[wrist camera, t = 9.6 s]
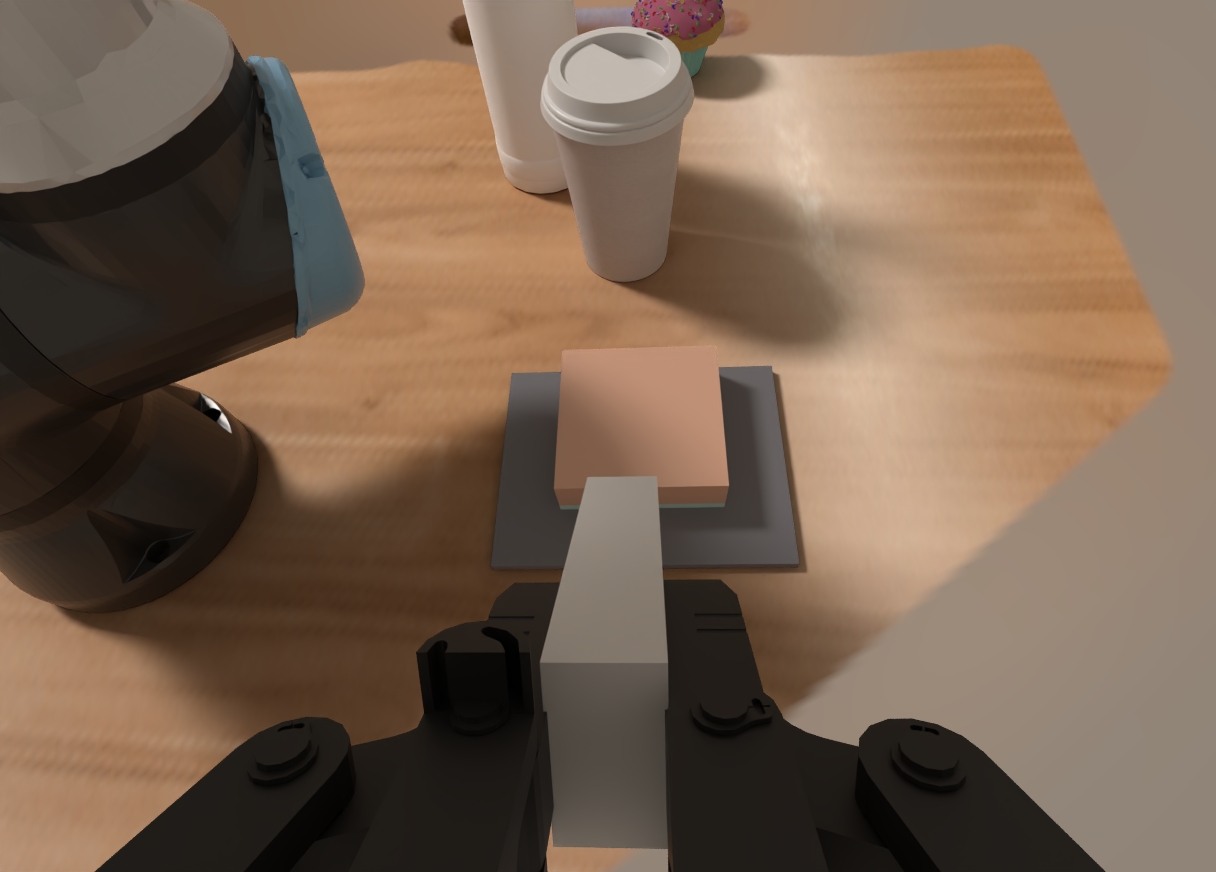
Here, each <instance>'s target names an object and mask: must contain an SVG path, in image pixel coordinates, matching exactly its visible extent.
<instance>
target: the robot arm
mask: <svg viewBox="0 0 1216 872" xmlns="http://www.w3.org/2000/svg"><path fill="white" fill-rule="evenodd" d="M364 285H365V279H364V273H363V270H362V266H361V263H360V259H359V256H358V253H357V251H356V248H355V245H354V242H353V239H352V236H351V233H350V230H349V228H348V225H347V222H346V220H345V217H344V214H343V211H342V209H341V206H340V203H339V200H338V198H337V195H336V192H335V190H334V187H333V185H332V182H331V179H330V177H329V174H328V172H327V170H326V168H325V165H324V161H323V158H322V156H321V153H320V150H319V148H318V145H317V143H316V139H315V136H314V133H313V131H312V128H311V125H310V123H309V120H308V117H307V115H306V112H305V110H304V107H303V104H302V102H301V99H300V97H299V94H298V92H297V89H296V87H295V84H294V82H293V80H292V77H291V75H290V73H289V70H288V69H287V67H286V65H285V64H284V63H283V62H282V61H280V60H279V59H276V58H270V57H269V58H262V57H260V56H255V57H254V55H253V56H250V57H248V59H247V61H246V62H244V60H243V59H242V57H241V55H240V53H239V52H238V50H237V48H236V46H235V45H234V43H233V41H232V39H231V38H230V36H229V34H228V32H227V31H226V29H225V27H224V26H223V25H222V23H221V22H220V21H219V20H218V19H217V18H216V17H215V16H214V15H213V14H212V13H211V12H210V11H207V10H206V9H204V8H202V7H200V6H198V5H196V4H193V3H191V2H189V1H187V0H0V571H1V572H2V573H3V574H4V575H5V576H6V577H7V578H8V579H9V580H10V581H11V582H12V583H13V584H14V585H16V586H17V587H18V588H20V589H21V590H23V591H24V592H26V593H28V594H30V595H31V596H33V597H36V598H38V599H40V600H43V601H46V602H49V603H52V604H55V605H58V606H61V607H64V608H67V609H70V610H75V611H80V612H88V613H103V612H113V611H119V610H124V609H128V608H132V607H135V606H138V605H141V604H144V603H146V602H149V601H151V600H154V599H156V598H158V597H160V596H162V595H164V594H166V593H168V592H170V591H172V590H173V589H175V588H177V587H178V586H180V585H181V584H183V583H184V582H186V581H187V580H189V579H190V578H191V577H193V576H194V575H195V574H197V573H198V572H199V571H200V570H201V569H202V568H204V567H205V566H206V565H207V564H208V563H209V562H210V561H211V560H212V559H213V558H214V557H215V556H216V555H217V554H218V553H219V552H220V551H221V550H222V548H223V547H224V546H225V545H226V544H227V542H228V541H229V540H230V538H231V537H232V536H233V534H234V533H235V531H236V530H237V528H238V527H239V525H240V523H241V522H242V520H243V518H244V516H245V514H246V512H247V510H248V507H249V505H250V503H251V500H252V497H253V494H254V490H255V485H256V480H257V467H258V466H257V455H256V450H255V446H254V444H253V441H252V439H251V437H250V435H249V433H248V431H247V430H246V429H245V427H244V426H243V425H242V424H241V423H240V422H239V421H238V420H237V419H236V418H235V417H234V416H233V415H232V414H231V413H229V412H228V411H227V410H226V409H225V408H224V407H223V406H222V405H220V404H219V403H218V402H216V401H215V400H213V399H212V398H210V397H208V396H206V395H204V394H203V393H200V392H198V391H195V390H192V389H190V388H187V387H184V386H182V385H179V384H176V383H174V382H177V381H180V380H182V379H185V378H188V377H190V376H193V375H196V374H198V373H201V372H203V371H206V370H209V369H211V368H214V367H217V366H219V365H222V364H225V363H227V362H230V361H232V360H235V359H238V358H240V357H243V356H246V355H248V354H251V353H254V352H256V351H259V350H262V349H264V348H267V347H269V346H272V345H275V344H277V343H280V342H283V341H285V340H288V339H291V338H293V337H294V338H299V337H301V336H303V335H305V334H306V332H307V330H308V329H310V328H312V327H314V326H317V325H319V324H321V323H323V322H325V321H327V320H330V319H332V318H334V317H336V316H338V315H341V314H343V313H345V312H347V311H349V310H350V309H351V308H352V307H353V306H354V305H355V304H356V303H357V302H358V300H359V299H360V297H361V295H362V294H363V289H364ZM416 655H417V662H418V670H419V677H420V685H421V692H422V700H423V707H424V715H423V717H422V719H421V721H420V723H419V725H418V727H417V728H416V729H413V730H411V731H409V732H406V733H403V734H400V735H397V736H393V737H390V738H385V739H381V740H377V741H372V742H368V743H363V744H359V745H355V746H351V743H350V737H349V735H348V733H347V732H346V730H345V729H344V727H343V725H342V724H340V723H337V722H335V721H333V720H331V719H328V718H316V717H305V718H300V719H295V720H291V721H286V722H282V723H280V724H277V725H275V726H273V727H270V728H268V729H266V730H264V731H261V732H259V733H257V734H256V735H255V736H253V737H252V738H250V739H249V740H247V741H246V742H244V743H243V744H242V745H240V746H239V747H237V748H236V749H235V750H234V751H233V752H231V753H230V754H229V755H228V756H227V757H226V758H225V759H223V760H222V761H221V762H220V763H219V764H218V765H217V766H215V767H214V768H213V769H212V770H211V771H210V772H208V773H207V774H206V775H205V776H204V777H203V778H202V779H200V780H199V781H198V782H197V783H196V784H195V785H194V786H192V787H191V788H190V789H189V790H188V791H187V792H186V793H184V794H183V795H182V796H181V797H180V798H179V799H177V800H176V801H175V802H174V803H173V804H172V805H171V806H169V807H168V808H167V809H166V810H165V811H164V812H163V813H161V814H160V815H159V816H158V817H157V818H156V819H155V820H153V821H152V822H151V823H150V824H149V825H148V826H146V827H145V828H144V829H143V830H142V831H141V832H140V833H138V834H137V835H136V836H135V837H134V838H133V839H132V840H130V841H129V842H128V843H127V844H126V845H125V846H124V847H122V848H121V849H120V850H119V851H118V852H117V853H115V854H114V855H113V856H112V857H111V858H110V859H109V860H107V861H106V862H105V863H104V864H103V865H102V866H101V867H99V868H98V869H97V870H96V871H95V872H547V859H546V851H547V845H548V839H549V833H550V827H551V821H552V835H553V847H600V848H649V849H668V872H1105V871H1104V870H1103V869H1102V868H1101V867H1100V866H1099V865H1098V864H1097V863H1096V862H1095V861H1094V860H1093V859H1092V858H1091V857H1090V856H1089V855H1088V854H1087V853H1086V852H1085V851H1084V850H1083V849H1082V848H1081V847H1080V846H1079V845H1078V844H1077V843H1076V842H1075V841H1074V840H1072V838H1071V837H1070V836H1069V835H1068V834H1067V833H1065V832H1064V830H1063V829H1061V828H1060V826H1059V825H1057V824H1056V823H1055V822H1054V821H1053V820H1052V819H1051V818H1050V817H1049V816H1048V815H1047V814H1046V813H1045V812H1044V811H1043V810H1042V809H1041V808H1040V807H1039V806H1038V805H1037V804H1036V803H1035V802H1034V801H1033V800H1032V799H1031V798H1030V797H1029V796H1028V795H1027V794H1026V793H1025V792H1024V791H1023V790H1022V789H1021V788H1020V787H1019V786H1018V785H1017V784H1016V783H1014V781H1013V780H1012V779H1011V778H1010V777H1009V776H1007V774H1006V773H1005V772H1004V771H1003V770H1001V769H1000V768H999V767H998V766H997V765H996V764H995V763H994V762H993V761H992V760H991V759H990V758H989V757H988V756H987V755H986V754H985V753H984V752H983V751H982V750H980V749H979V748H978V747H976V746H975V745H974V744H972V743H971V742H970V741H968V740H967V739H966V738H964V737H963V736H962V735H959V734H957V733H955V732H953V731H951V730H948V729H946V728H944V727H942V726H940V725H938V724H934V723H929V722H925V721H920V720H915V719H887V720H884V721H881V722H879V723H876V724H874V725H870V726H869V727H868V729H867V730H866V731H865V732H864V733H863V734H862V736H861V737H860V738H859V747H858V746H854V745H850V744H846V743H841V742H837V741H833V740H829V739H825V738H822V737H819V736H816V735H813V734H810V733H807V732H805V731H803V730H801V729H799V728H797V727H795V726H793V725H791V724H790V723H789V722H787V721H786V720H785V719H783V716H782V714H781V712H780V710H779V709H778V707H777V705H776V704H775V702H774V700H773V699H771V698H770V697H769V696H767V695H766V694H765V693H764V692H763V688H762V685H761V681H760V677H759V674H758V670H757V666H756V663H755V659H754V655H753V652H752V648H751V645H750V641H749V637H748V634H747V633H746V626H745V623H744V619H743V617H742V612H741V608H740V604H739V601H738V597H737V595H736V594H735V593H734V592H733V591H732V590H731V589H730V588H729V587H728V586H727V585H726V584H724V583H723V582H722V581H721V580H663V570H662V553H661V536H660V519H659V502H658V485H657V476H623V477H587V481H586V485H585V489H584V493H583V496H582V500H581V504H580V508H579V512H578V516H577V520H576V524H575V528H574V531H573V535H572V539H571V543H570V547H569V551H568V555H567V559H566V563H565V566H564V570H563V574H562V578H561V582H560V583H514V584H513V585H512V586H511V587H509V588H508V589H507V590H506V591H505V592H503V593H502V594H501V595H500V596H499V597H497V598H496V600H495V603H494V605H493V607H492V610H491V612H490V614H489V619H488V620H487V621H480V622H471V623H464V624H461V625H458V626H455V627H451V628H448V629H445V630H443V631H442V632H440V633H438V634H437V635H435V636H433V637H431V638H430V639H428V640H427V641H426V642H425V643H424V644H423V645H422V647H421V648H420V649H419V650H418V651H417V652H416Z"/></svg>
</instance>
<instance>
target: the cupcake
mask: <svg viewBox="0 0 1216 872" xmlns="http://www.w3.org/2000/svg"><path fill="white" fill-rule="evenodd" d="M722 3H723V2H722V0H639V2H636V4H635V8H634V11H633V12H632V13H631V15H632V27H636V28H642V29H647V30H651V31H654V32H656V33H659V34H661V35H663V36H665V37H666V38H668V39H669V40H670V41H672V42H673V43H674V44H675V46H676V47H677V48H678V50H679V52H680V55H681V59H682V61H683V62H684V64H685V65H686V67H687V69H688V71H689V74H690V76H691V77H692V76H694V75H695V74H696V73H697V72H698V71H699V69H700V67H701V64H702V61H703V58H704V55H705V53H706V50H707V48H708V46H710V45H712V44H714V43H715V42H716V40H717V39H718V37H719V36H720V34H721V33H722V32H723V30H724V23H725V15H724V10H723V8H722Z"/></svg>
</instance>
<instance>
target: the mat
mask: <svg viewBox="0 0 1216 872" xmlns="http://www.w3.org/2000/svg"><path fill="white" fill-rule="evenodd" d="M719 379H720V390H721V401H722V412H723V424H724V435H725V446H726V457H727V469H728V480H729V488H728V493H727V497H726V502H725V506H724V507H699V508H659V519H660V536H661V553H662V568H740V567H798V565H799V557H798V550H797V543H796V536H795V529H794V522H793V515H792V508H791V500H790V493H789V486H788V479H787V472H786V465H785V458H784V450H783V443H782V436H781V429H780V422H779V415H778V408H777V401H776V393H775V386H774V379H773V372H772V366H751V367H719ZM560 382H561V372H543V373H512V376H511V385H510V394H509V403H508V413H507V422H506V431H505V440H504V449H503V459H502V468H501V477H500V486H499V495H498V505H497V514H496V523H495V532H494V541H493V550H492V560H491V567H492V569H493V570H500V569H564V566H565V563H566V559H567V555H568V551H569V547H570V543H571V539H572V535H573V531H574V528H575V524H576V520H577V516H578V512H579V509H562V510H561V509H560V506H559V503H558V500H557V497H556V494H555V491H554V479H555V463H556V446H557V430H558V414H559V398H560Z"/></svg>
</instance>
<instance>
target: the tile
mask: <svg viewBox="0 0 1216 872" xmlns="http://www.w3.org/2000/svg"><path fill="white" fill-rule="evenodd" d="M623 476H657V485H658V502H659V508H699V507H724V506H725V502H726V497H727V493H728V488H729V480H728V469H727V457H726V446H725V435H724V424H723V412H722V401H721V390H720V379H719V367H718V356H717V345H710V346H678V347H646V348H614V349H582V350H562V366H561V382H560V398H559V414H558V430H557V446H556V463H555V479H554V491H555V494H556V497H557V500H558V503H559V506H560V509H561V510H562V509H579V508H580V504H581V500H582V496H583V493H584V489H585V485H586V481H587V477H623Z"/></svg>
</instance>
